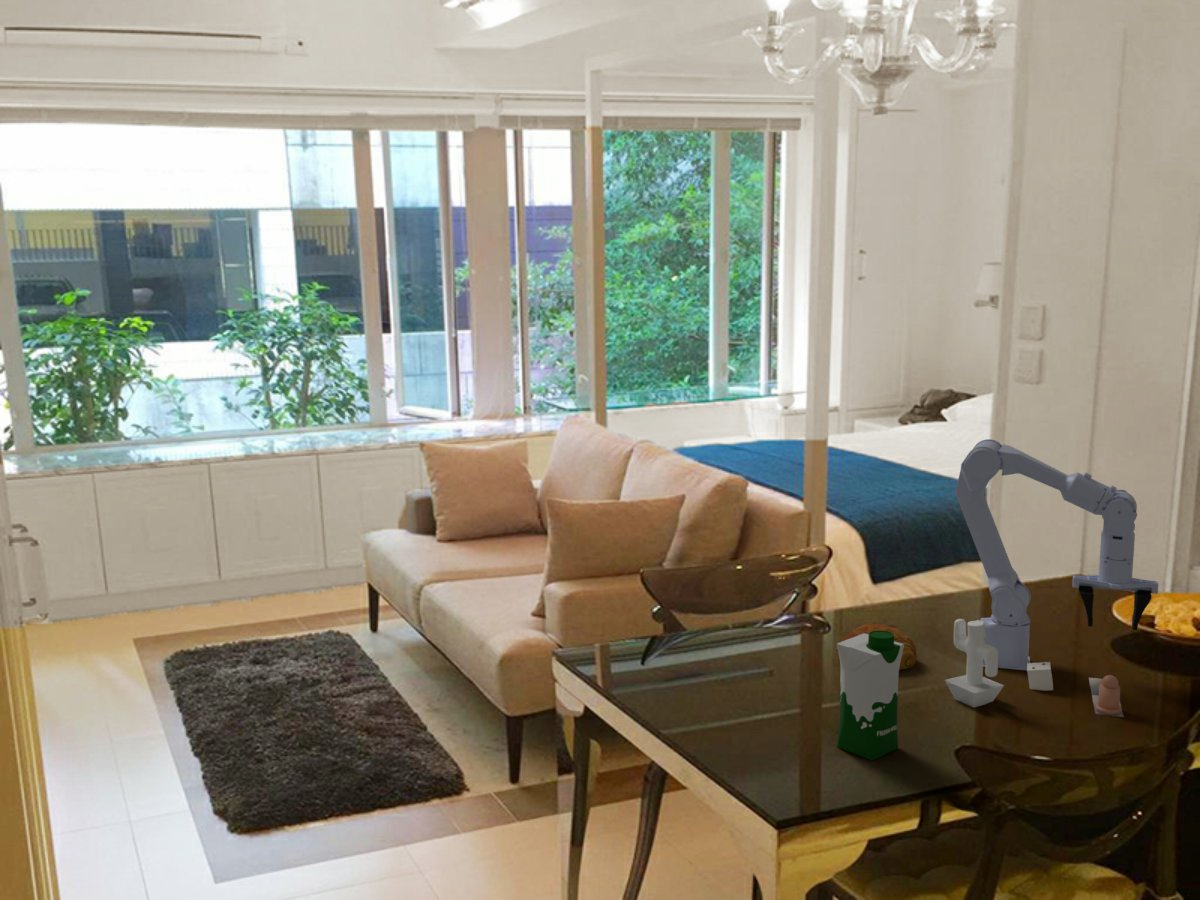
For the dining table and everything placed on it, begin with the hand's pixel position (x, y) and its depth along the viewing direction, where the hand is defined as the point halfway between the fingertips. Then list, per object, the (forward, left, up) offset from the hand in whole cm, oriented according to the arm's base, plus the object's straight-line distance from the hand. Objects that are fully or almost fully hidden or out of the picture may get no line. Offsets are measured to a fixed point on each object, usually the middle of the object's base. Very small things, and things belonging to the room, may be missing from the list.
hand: (1112, 626), depth 220 cm
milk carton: (-40, -45, -10) cm, 61 cm away
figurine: (-24, -20, -10) cm, 33 cm away
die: (-11, -10, -7) cm, 16 cm away
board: (-5, -12, -10) cm, 16 cm away
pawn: (-2, -19, -9) cm, 21 cm away
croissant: (-43, -3, -10) cm, 45 cm away
